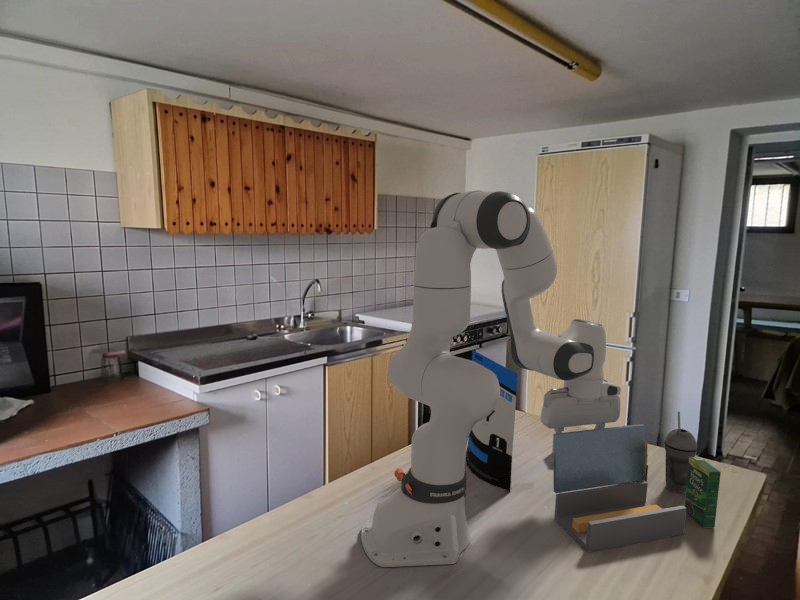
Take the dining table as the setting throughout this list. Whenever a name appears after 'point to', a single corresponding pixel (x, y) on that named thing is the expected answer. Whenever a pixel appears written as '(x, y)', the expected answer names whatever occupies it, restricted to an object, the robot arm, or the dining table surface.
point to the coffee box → (702, 491)
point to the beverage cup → (678, 457)
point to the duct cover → (598, 457)
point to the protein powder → (494, 431)
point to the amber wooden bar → (609, 516)
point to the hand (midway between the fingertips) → (578, 441)
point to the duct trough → (621, 527)
